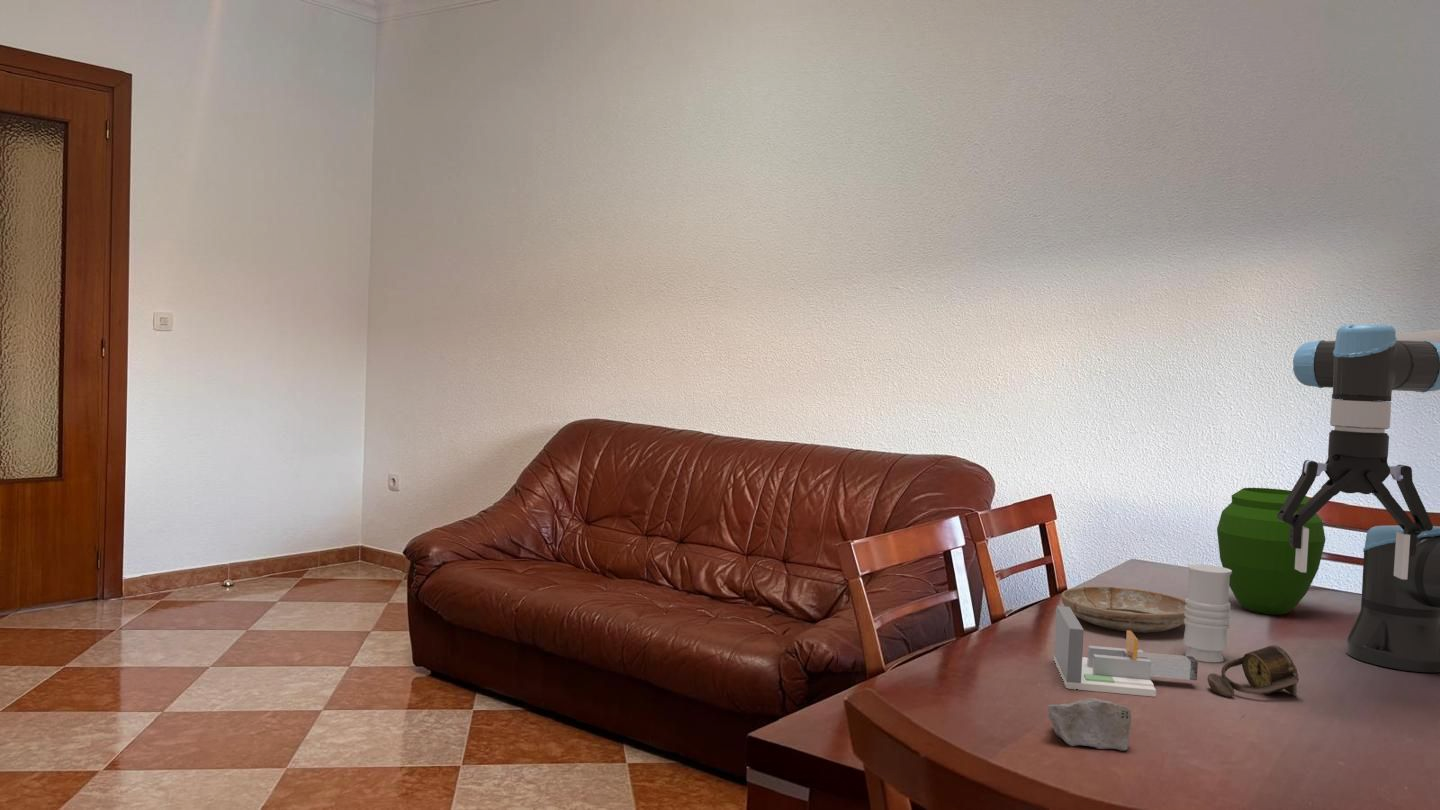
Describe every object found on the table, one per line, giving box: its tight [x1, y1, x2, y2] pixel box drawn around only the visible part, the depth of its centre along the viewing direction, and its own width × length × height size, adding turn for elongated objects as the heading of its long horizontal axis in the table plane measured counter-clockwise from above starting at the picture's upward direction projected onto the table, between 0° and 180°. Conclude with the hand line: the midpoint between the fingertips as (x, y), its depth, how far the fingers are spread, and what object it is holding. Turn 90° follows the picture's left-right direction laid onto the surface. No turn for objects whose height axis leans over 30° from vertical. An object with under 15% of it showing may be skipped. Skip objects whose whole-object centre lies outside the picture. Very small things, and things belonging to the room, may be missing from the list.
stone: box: [1047, 697, 1132, 752], centre depth 134 cm, size 8×10×6 cm
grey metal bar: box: [1124, 630, 1199, 681], centre depth 158 cm, size 10×6×6 cm, turn 79°
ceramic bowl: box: [1060, 586, 1187, 633], centre depth 197 cm, size 23×24×5 cm
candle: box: [1182, 563, 1232, 663], centre depth 175 cm, size 7×7×15 cm
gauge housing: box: [1053, 605, 1157, 698], centre depth 161 cm, size 12×15×9 cm
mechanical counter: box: [1206, 644, 1300, 698], centre depth 157 cm, size 7×13×10 cm
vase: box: [1216, 487, 1326, 616], centre depth 212 cm, size 20×20×24 cm
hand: (1349, 574), depth 154 cm, fingers open, 13 cm apart
